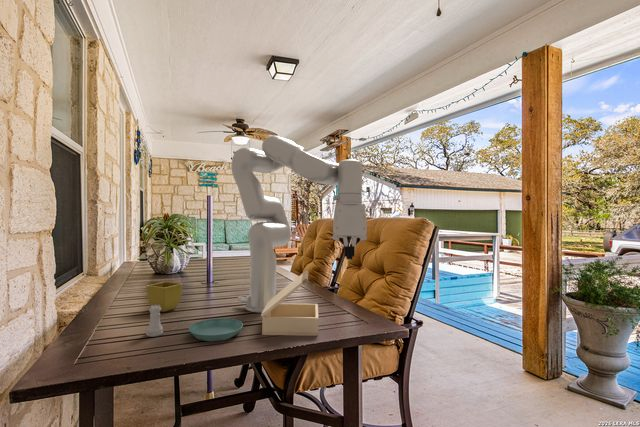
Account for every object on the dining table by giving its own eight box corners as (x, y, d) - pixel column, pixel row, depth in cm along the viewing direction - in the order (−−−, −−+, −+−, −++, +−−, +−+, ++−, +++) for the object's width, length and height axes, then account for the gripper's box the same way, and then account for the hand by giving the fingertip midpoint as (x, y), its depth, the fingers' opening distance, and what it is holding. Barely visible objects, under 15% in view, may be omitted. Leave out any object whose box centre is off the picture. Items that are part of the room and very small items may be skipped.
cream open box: (262, 334, 98) (262, 317, 98) (269, 318, 114) (269, 303, 114) (318, 335, 99) (318, 318, 99) (317, 318, 115) (317, 303, 115)
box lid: (262, 317, 98) (260, 314, 98) (269, 302, 115) (267, 300, 115) (307, 280, 99) (305, 278, 99) (308, 271, 115) (306, 269, 115)
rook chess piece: (151, 338, 94) (152, 308, 94) (142, 335, 96) (143, 306, 96) (166, 333, 97) (167, 305, 98) (157, 330, 100) (157, 303, 100)
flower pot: (144, 311, 119) (145, 285, 119) (164, 305, 127) (165, 281, 127) (163, 314, 116) (164, 287, 116) (183, 308, 124) (183, 283, 124)
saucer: (200, 326, 106) (200, 317, 106) (248, 327, 105) (248, 318, 105) (179, 343, 91) (179, 333, 91) (234, 345, 91) (234, 335, 91)
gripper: (326, 199, 103) (325, 260, 103) (375, 199, 104) (375, 260, 103) (325, 200, 111) (324, 257, 110) (371, 200, 111) (371, 257, 111)
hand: (349, 258), depth 107 cm, fingers closed
